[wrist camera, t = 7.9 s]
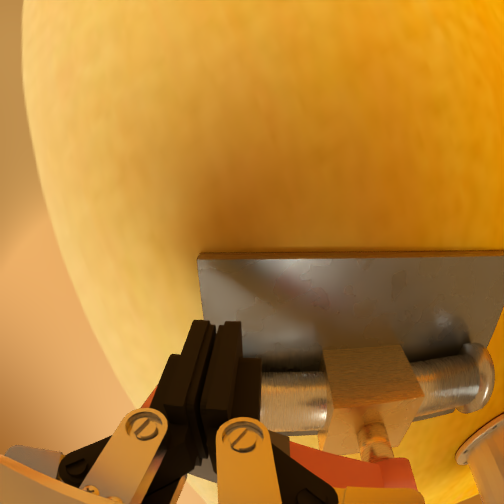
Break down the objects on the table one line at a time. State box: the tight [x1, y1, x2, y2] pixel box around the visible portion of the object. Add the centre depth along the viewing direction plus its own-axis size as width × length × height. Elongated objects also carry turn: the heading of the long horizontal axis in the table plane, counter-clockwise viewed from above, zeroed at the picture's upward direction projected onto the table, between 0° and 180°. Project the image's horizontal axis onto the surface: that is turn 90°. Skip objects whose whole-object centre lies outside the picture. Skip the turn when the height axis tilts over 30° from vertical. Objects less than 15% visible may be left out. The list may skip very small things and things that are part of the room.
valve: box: [197, 251, 504, 463], centre depth 18 cm, size 24×18×10 cm
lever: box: [141, 385, 418, 491], centre depth 11 cm, size 16×4×2 cm, turn 56°
